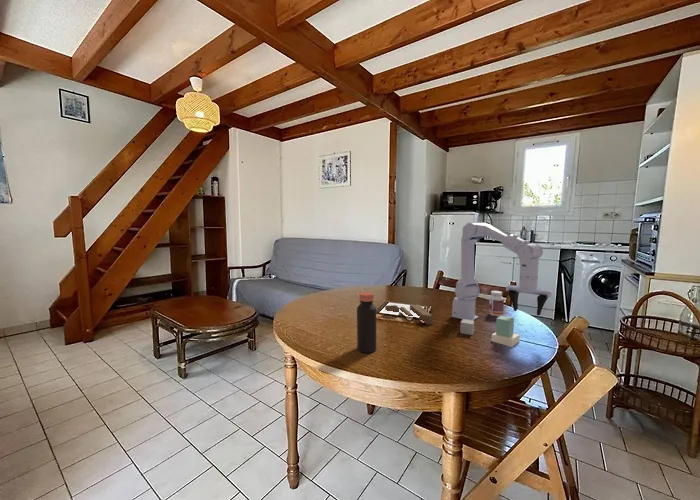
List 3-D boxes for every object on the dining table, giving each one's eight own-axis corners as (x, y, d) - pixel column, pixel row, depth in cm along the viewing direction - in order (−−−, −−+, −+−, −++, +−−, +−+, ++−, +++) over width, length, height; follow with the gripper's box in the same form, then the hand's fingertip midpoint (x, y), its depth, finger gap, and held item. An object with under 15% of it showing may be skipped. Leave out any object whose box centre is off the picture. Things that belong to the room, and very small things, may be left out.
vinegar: (370, 355, 99) (370, 297, 97) (353, 350, 103) (353, 294, 101) (379, 347, 105) (379, 292, 103) (363, 343, 108) (362, 290, 106)
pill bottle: (506, 315, 139) (506, 292, 138) (498, 317, 136) (499, 294, 134) (493, 311, 144) (494, 289, 143) (486, 314, 141) (486, 291, 140)
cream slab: (491, 342, 109) (491, 334, 109) (499, 337, 114) (499, 329, 114) (511, 348, 104) (511, 340, 104) (519, 342, 109) (519, 334, 108)
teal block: (495, 333, 109) (496, 318, 109) (500, 330, 112) (501, 315, 112) (508, 337, 106) (509, 321, 106) (513, 333, 109) (513, 318, 109)
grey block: (460, 333, 118) (460, 322, 117) (462, 329, 122) (462, 319, 121) (472, 335, 115) (472, 324, 115) (473, 331, 119) (474, 320, 119)
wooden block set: (418, 301, 145) (433, 312, 127) (417, 312, 146) (433, 325, 128) (384, 303, 143) (395, 314, 125) (384, 314, 143) (395, 327, 125)
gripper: (503, 275, 110) (502, 310, 112) (549, 280, 100) (546, 319, 101) (510, 273, 115) (508, 306, 117) (554, 277, 105) (552, 314, 106)
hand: (526, 312), depth 109 cm, fingers open, 7 cm apart
